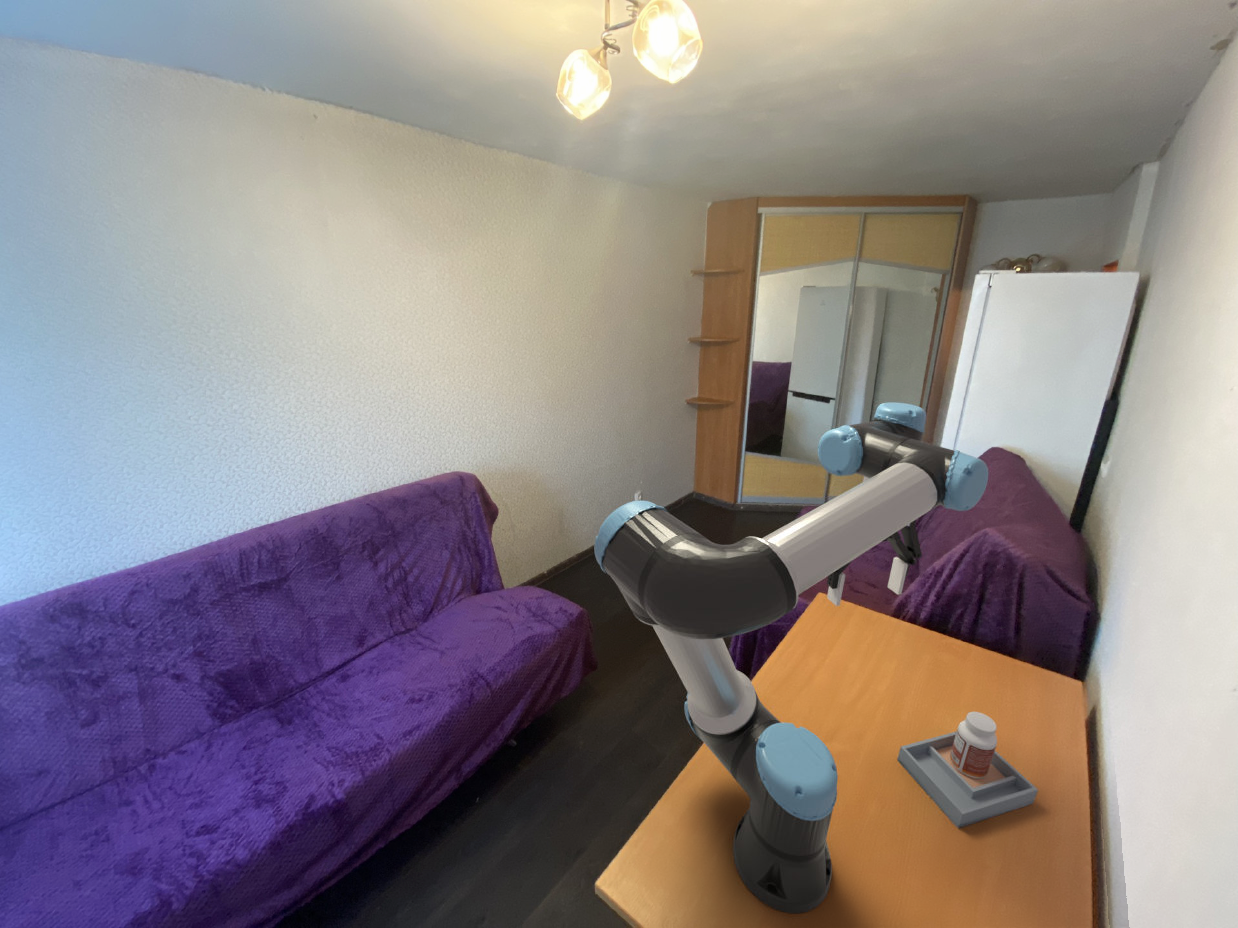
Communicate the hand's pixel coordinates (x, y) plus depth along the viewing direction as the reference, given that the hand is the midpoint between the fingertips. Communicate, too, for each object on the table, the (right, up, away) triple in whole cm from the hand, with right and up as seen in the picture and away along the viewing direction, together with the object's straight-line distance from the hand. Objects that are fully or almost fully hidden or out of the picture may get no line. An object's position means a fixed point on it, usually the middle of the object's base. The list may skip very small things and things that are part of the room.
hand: (864, 596), depth 99 cm
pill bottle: (+21, -33, +2) cm, 39 cm away
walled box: (+19, -35, 0) cm, 40 cm away
